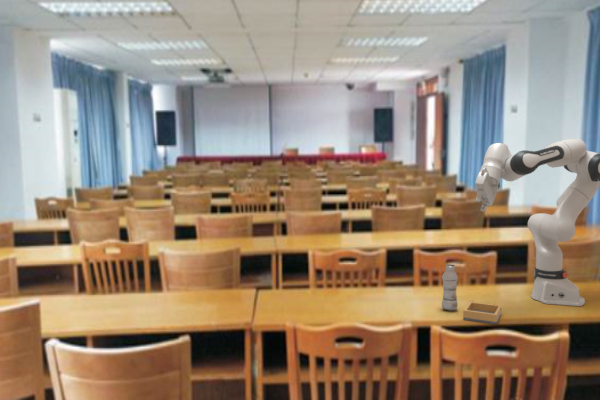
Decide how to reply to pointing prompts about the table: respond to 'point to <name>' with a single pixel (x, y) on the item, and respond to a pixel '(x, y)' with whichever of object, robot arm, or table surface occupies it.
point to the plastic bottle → (449, 288)
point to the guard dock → (482, 312)
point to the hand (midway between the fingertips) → (480, 206)
